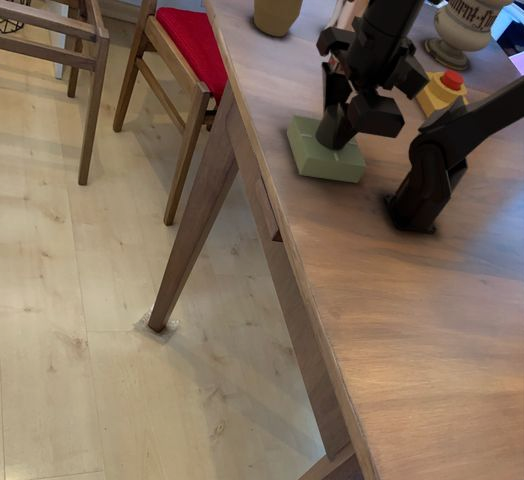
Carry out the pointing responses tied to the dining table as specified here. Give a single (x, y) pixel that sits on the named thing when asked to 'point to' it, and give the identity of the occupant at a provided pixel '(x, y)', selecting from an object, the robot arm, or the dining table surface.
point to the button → (452, 80)
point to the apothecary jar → (463, 29)
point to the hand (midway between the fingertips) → (331, 137)
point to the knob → (327, 127)
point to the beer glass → (346, 13)
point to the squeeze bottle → (276, 15)
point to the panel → (323, 153)
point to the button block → (438, 94)
